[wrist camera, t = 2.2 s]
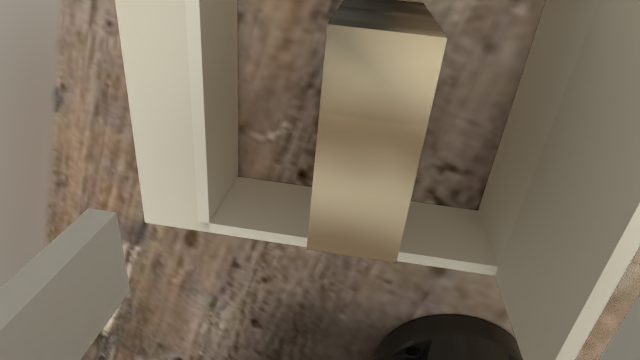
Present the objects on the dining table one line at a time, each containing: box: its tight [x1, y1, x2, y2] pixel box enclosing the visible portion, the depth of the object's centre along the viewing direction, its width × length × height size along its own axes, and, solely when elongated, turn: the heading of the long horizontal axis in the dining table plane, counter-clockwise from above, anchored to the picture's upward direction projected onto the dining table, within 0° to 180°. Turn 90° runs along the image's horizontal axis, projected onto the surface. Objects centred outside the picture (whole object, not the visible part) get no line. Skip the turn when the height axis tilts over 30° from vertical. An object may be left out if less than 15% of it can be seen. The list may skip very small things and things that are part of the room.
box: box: [307, 0, 447, 263], centre depth 26 cm, size 12×5×12 cm, turn 175°
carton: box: [115, 0, 640, 360], centre depth 24 cm, size 20×26×16 cm
